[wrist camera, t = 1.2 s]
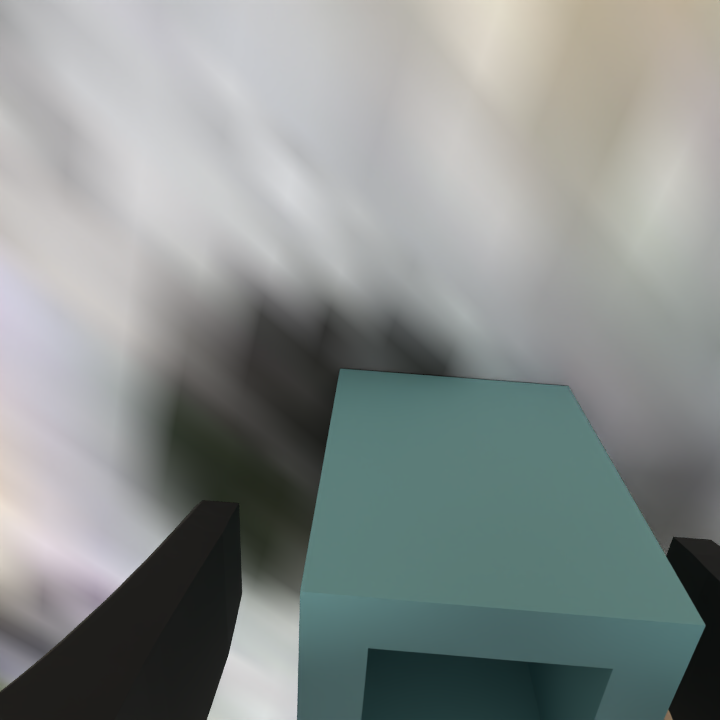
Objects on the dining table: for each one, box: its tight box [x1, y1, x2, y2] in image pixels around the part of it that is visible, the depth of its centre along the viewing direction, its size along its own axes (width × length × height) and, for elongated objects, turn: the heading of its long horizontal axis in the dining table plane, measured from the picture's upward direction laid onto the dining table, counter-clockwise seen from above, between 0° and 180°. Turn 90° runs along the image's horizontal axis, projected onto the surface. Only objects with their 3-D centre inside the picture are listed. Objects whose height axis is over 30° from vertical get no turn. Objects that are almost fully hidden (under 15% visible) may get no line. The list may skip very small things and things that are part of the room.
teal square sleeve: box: [297, 369, 706, 720], centre depth 10 cm, size 4×4×6 cm
